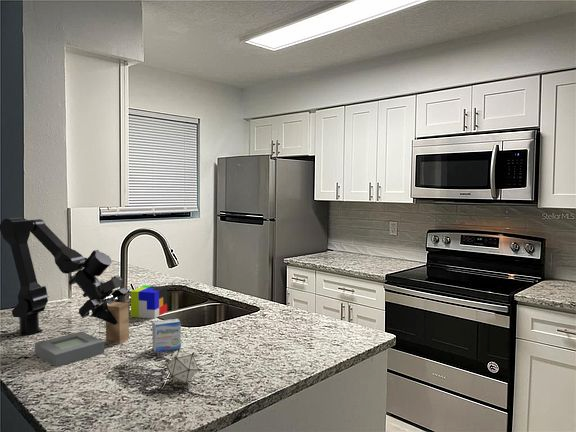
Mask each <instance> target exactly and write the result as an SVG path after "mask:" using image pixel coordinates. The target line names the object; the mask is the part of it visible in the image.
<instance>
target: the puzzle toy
mask: <svg viewBox="0 0 576 432" xmlns="http://www.w3.org/2000/svg"><path fill="white" fill-rule="evenodd" d="M167 312H168V286H158V285H157V286H156V285H142V286H140V287H137V288H135V289H133V290H130V317H132V318H140V319H141V318H144V319H153V320H154V319H156V318H158V317H160V316H162V315H164V314H165V313H167Z"/></svg>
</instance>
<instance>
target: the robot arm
mask: <svg viewBox="0 0 576 432" xmlns="http://www.w3.org/2000/svg"><path fill="white" fill-rule="evenodd" d="M0 234H1V236H2V239H3V240H5V241H6V243H7V244H8V245H9V246H10V248H11V252H12V257H13V260H14V265H15V270H16V272H17V277H18V282H19V285H20V288H19V291H18V295H17V301H18V303H17V305H15V306H14V308H12V310H11V314H12V317H13V318H19V319H18V321H19V323H18V324H19V329H16V330H15V332H16V333H18V335H20V336H21V337H23V336H27V335H28V336H29V335H32V334H37V333H42V332H43V329H42V328H41V327H40V319H39V317H40V315H39V313H42V312H45V308H46V306H47V304H48V303H49V302H48V300H49V299H48V298H49V297H50V296H49V294H48V291H47V287H46V286H45V285H43V286H41V285H40V284H39V282H38V279H37V275H36V271H35V268H34V263H33V260H32V256H31V251H30V247H29V244H28V242H29V238H30V235H31V234H32V235H33V236H34V237H35V238H36V239H37V240H38V241H39V242H40V243H41V244H42V245H43V246H44V248H45V249H47V251H48V252H49V253H50V254H51V255H52V256H53V258H54V264H55V265H56V266H57V268H58V269H59V271H60V272H61V273H62V274H68V275H69V274H71V273H75V274H73V275H71V276H69V281H68V285H69V286H71V285H74V284H76V285H77V286H78V287H79V288H80V290H81V291H82V292H83V294H82V296H83V298H86V297H87V298H88V300H86V301H85V303H83V304H82V306H81V307H80V308H79V309H78V314H79V316H81V318H82V319H84V318H86V317H88V316H90V317H91V318H92V317H93V318H95V319H99V320H101V321H104V322H106V321H107V322H109V323H112V324H114V325H115V324H117V321H116V319H115V318H114V316H113V315H112V314H111V312H110V311H109V310H108V306H107V305H109V304H111V303H114V302H122V303H123V299H124V298H125V296H126V295H127V294H128V293H129V291H128V290H127V289H126V287H122V286H123V285H122V284H123V283H124V282H123V278H122V277H121V276H120V275H118V274H116V275H114V276H112V277H111V279H108V280H107V281H104V280H99V279H98V277H100V276H101V275H102V274H103V273H104V272H105V271H106V270H107V269H108V268H109V267H110V265H111V264H112V258H111V257H110V255H107V253H104V252H102V251H100V250H99V249H96V250H95V249H94V250H92V252H91V253H90V255H89V256H88V257H84V256H83V255H82V254H81V253H79V252H78V251H77V250H75V249H73V248H71V247H69V246H67V245H66V244H65V243H64V242H63V241H62V240H61V239H60V238H59V237H58V236H57V234H55V233H54V232H53V231H52V230H51V229H50V227H49V226H47V224H46V222H45V221H44V219H39V218H37V219H26V218H24V217H12V218H4V219H2V221H1V222H0ZM90 311H91V314H90Z"/></svg>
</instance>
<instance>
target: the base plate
mask: <svg viewBox="0 0 576 432" xmlns="http://www.w3.org/2000/svg"><path fill="white" fill-rule="evenodd" d="M104 353H105V340H102V339H100V338H97V337H95V336H93V335H91V334H88V333H86V332H84V331H82V330H81V331H78V332H73V333H70V334H65V335H62V336H57V337H53V338H50V339H46V340H41V341H38V342H35V343H34V355H35V356H36V357H38V358H40V359H41V360H43V361H45V362H47V363H48V364H49V365H52V366H53V367H55V368H58V367H61V366H64V365H68V364H71V363H74V362H78V361H81V360H84V359H87V358H88V359H89V358H91V357H94V356H98V355H101V354H104Z"/></svg>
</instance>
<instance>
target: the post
mask: <svg viewBox="0 0 576 432" xmlns="http://www.w3.org/2000/svg"><path fill="white" fill-rule="evenodd" d="M129 305H130V303H129V302H123V301H122V302H114V303H111V304H107V306H108V310H109V311H110V312H111V314H112V315H113V316H114V318H115V319H116V321H117V324H115V325H114V324H112V323H109V322H107V321H105V344H115V345H121V344H123V343H124V342H126V341H128V340H129V339H130V320H129V319H130V316H129V314H130V313H129V312H130V311H129V310H130V309H129V308H130V307H129Z"/></svg>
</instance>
